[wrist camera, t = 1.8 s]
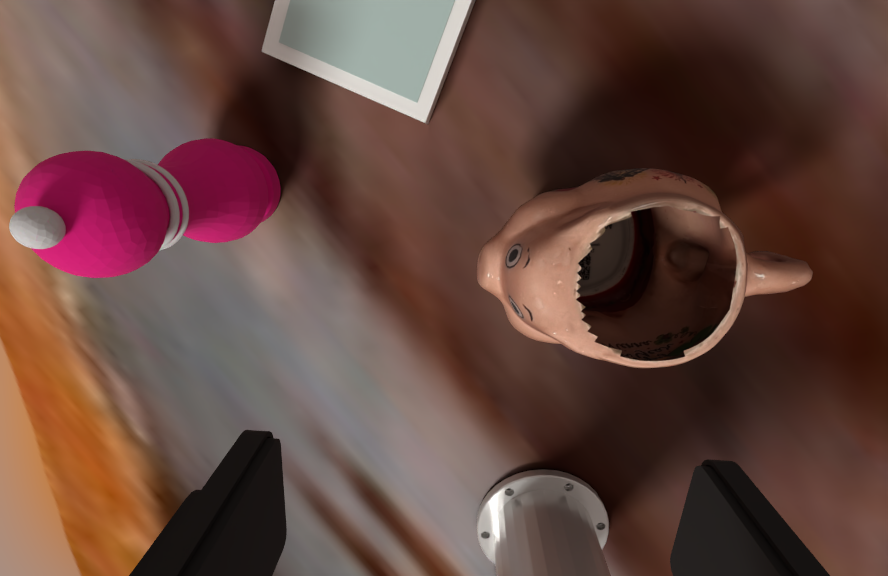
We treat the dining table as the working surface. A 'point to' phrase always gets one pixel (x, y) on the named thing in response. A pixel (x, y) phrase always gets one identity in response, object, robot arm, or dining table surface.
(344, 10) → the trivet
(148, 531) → the dining table surface
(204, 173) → the pepper mill
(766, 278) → the decorative planter
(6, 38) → the dining table surface
